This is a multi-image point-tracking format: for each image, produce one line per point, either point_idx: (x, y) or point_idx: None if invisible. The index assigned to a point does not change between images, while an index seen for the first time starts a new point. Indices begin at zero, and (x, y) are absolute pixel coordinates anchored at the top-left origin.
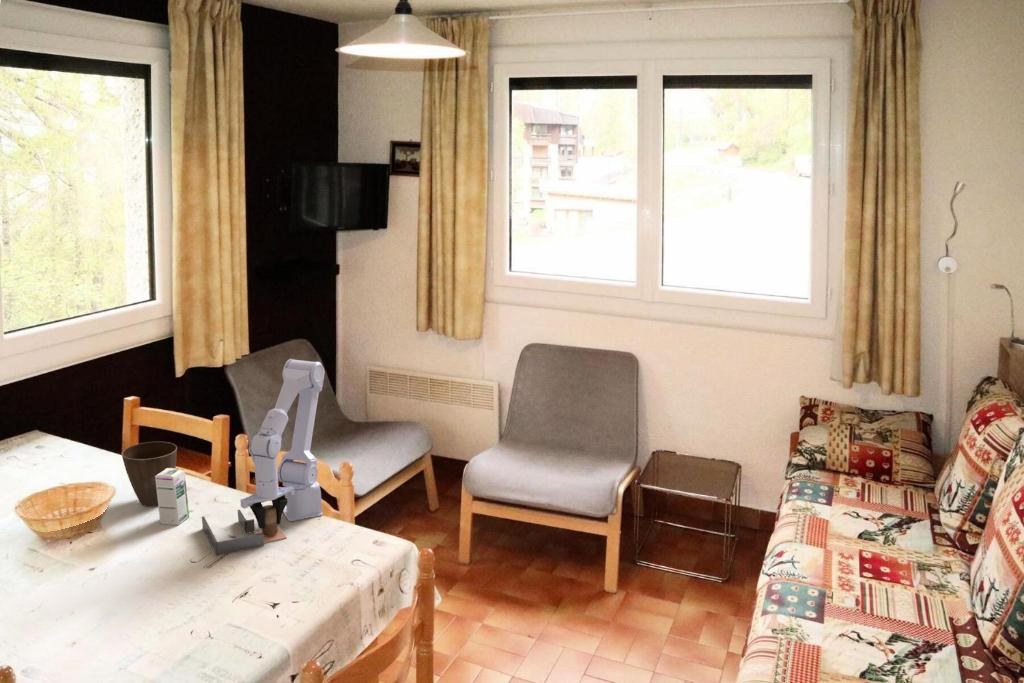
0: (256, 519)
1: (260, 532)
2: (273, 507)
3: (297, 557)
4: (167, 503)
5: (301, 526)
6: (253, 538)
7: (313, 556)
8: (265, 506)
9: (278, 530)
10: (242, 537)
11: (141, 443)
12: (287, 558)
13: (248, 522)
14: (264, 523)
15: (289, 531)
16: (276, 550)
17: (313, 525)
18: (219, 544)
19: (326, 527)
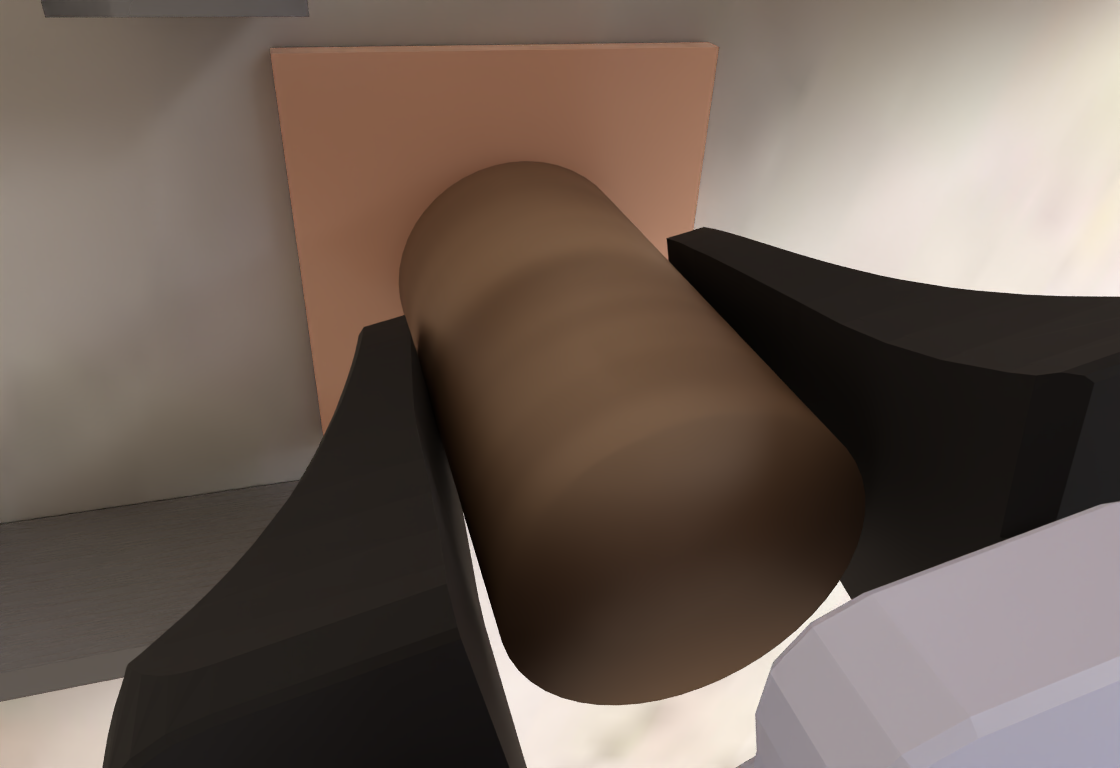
0: (339, 407)
1: (385, 123)
2: (797, 562)
3: (600, 732)
4: None
5: (957, 119)
6: None
7: (711, 730)
8: (667, 466)
9: (658, 170)
10: (23, 686)
11: None
12: (520, 738)
13: (156, 9)
14: (463, 520)
15: (771, 207)
16: None
17: (1065, 157)
18: None
19: (1111, 270)
